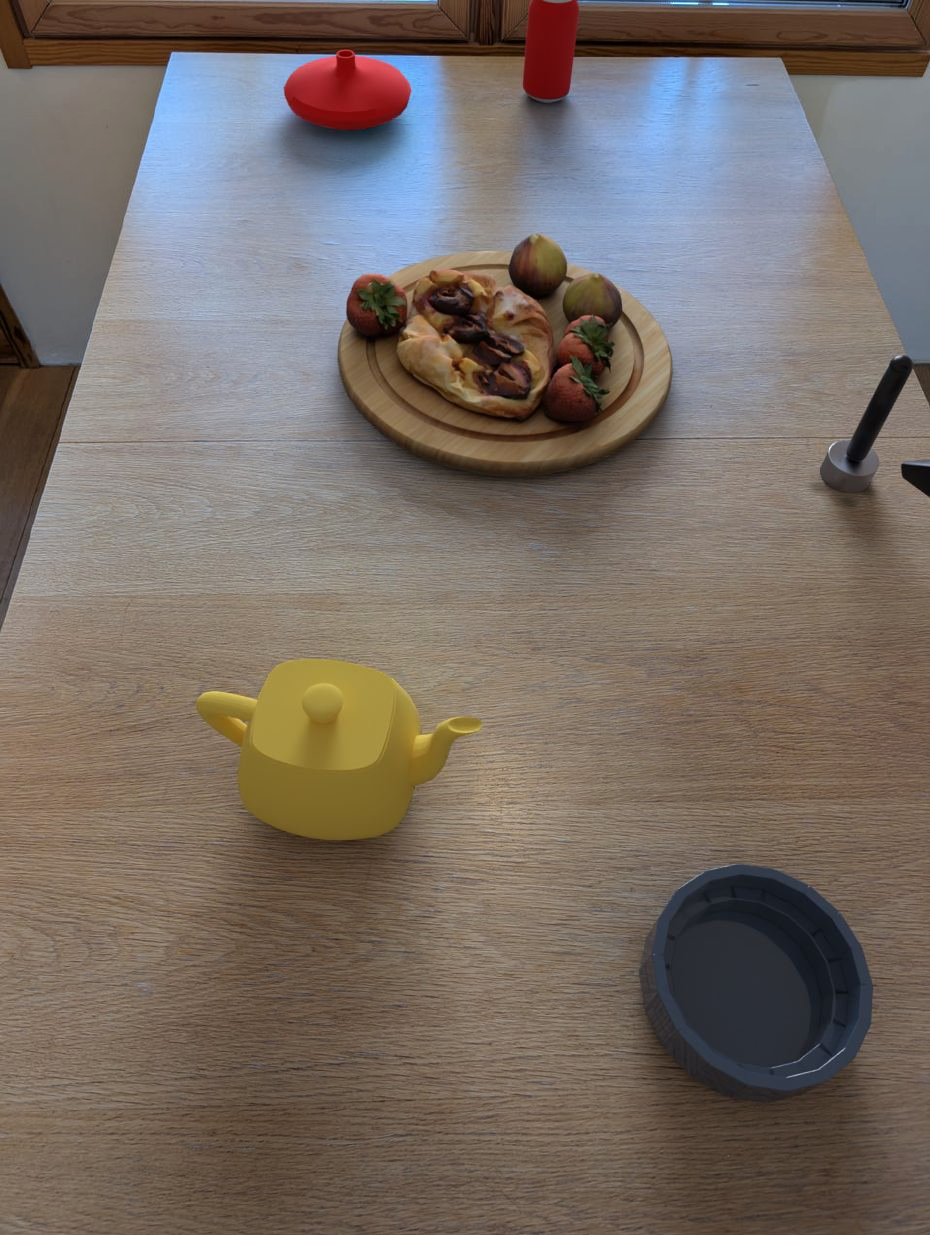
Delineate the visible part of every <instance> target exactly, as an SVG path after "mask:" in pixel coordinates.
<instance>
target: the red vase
mask: <svg viewBox="0 0 930 1235" xmlns="http://www.w3.org/2000/svg"><path fill="white" fill-rule="evenodd" d="M411 95H412V88H411V84H410V82H409V81H408V79H407V77H406V76H405V75H404V74H403V73H402V72H401V71H400V69H398V68H396V67H395V66H393V65H392V64H391V63H388V62H386V61H382V60H380V59H378V58H377V59H376V58H371V57H368V56H361V55H356V54H355V52H354V51H353V50H351V49H340V50H338V51H337V52H336V54H335V55H334V56H326V57H321V58H318V59H315V60H312V61H311V60H310V61H308V62H306V63H305V64H303V65H300V66H299V67H297V68H296V69H295V70H294V71H293V72H292V73H291V74H290V75H289V77H288V78H287V80H286V82H285V84H284V86H283V96H284V98H285V100H286V103H287V105H288V106H289V109H291V111H292V112H293V113H294V114H295V115H296V116H297V117H299V118H300V119H301V120H304V121H305V122H308V123H311V124H313V125H316V126H319V127H323V128H328V129H332V130H337V131H361V130H366V129H371V128H374V127H377V126H380V125H383V124H386V123H390V122H391V121H393V120H394V119H396V118H398V117H399V116H401V115H402V114H403V112H404V111H405V110H406V109H407V107H408V104H409V102H410V97H411Z"/></svg>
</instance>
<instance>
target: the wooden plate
mask: <svg viewBox="0 0 930 1235" xmlns="http://www.w3.org/2000/svg"><path fill="white" fill-rule="evenodd" d="M345 305H346V307H345V314H346V319H345V321H344V322H343V325H342V328H341V330H340V334H339V338H338V343H337V365H338V371H339V376H340V379H341V383H342V385H343V388H344V391H345V393H346V395H347V397H348V399H349V400H350V402H351V403H352V405H353V406H354V408H355V409H356V411H357V412H358V413H359V414H360V415H361V416H362V417H363V419H364V420H365V421H367V423H369V424H370V425H371V426H372V428H374V429H375V430H376V431H377V432H378V433H379V434H380V435H382V436H384V437H385V438H386V439H388V440H389V441H391V442H392V443H394V444H395V445H396V446H398V447H400V448H402V449H403V450H405V451H407V452H408V453H410V454H413V455H416V456H418V457H420V458H422V459H424V460H427V461H430V462H432V463H436V464H438V465H440V466H445V467H447V468H452V469H456V470H461V471H466V472H469V473H475V474H476V473H477V474H483V475H487V476H501V477H503V476H504V477H505V476H506V477H526V476H528V477H529V476H542V475H550V474H555V473H562V472H566V471H567V472H568V471H571V470H575V469H579V468H582V467H585V466H589V465H590V464H593V463H596V462H598V461H601V460H603V459H605V458H607V457H609V456H612V455H613V454H615V453H617V452H618V451H620V450H622V449H624V448H625V447H627V446H629V445H630V444H631V443H632V442H634V441H635V440H637V438H640V437H641V435H643V433H644V432H646V431H647V430H648V429H649V427H650V426H651V425H652V424H653V422H654V421H655V420H656V419H657V417H658V416H659V414H660V413H661V411H662V409H663V408H664V406H665V403H666V402H667V400H668V397H669V394H670V390H671V388H672V387H671V386H672V380H673V370H674V369H673V356H672V353H671V348H670V345H669V341H668V339H667V337H666V335H665V332H664V331H663V328H662V327H661V325H660V324H659V322H658V321H657V319H656V318H655V317H654V315H653V314H652V313H651V312H650V311H649V309H647V307H645V305H644V304H642V303H641V302H640V301H639V300H638V299H637V298H636V297H635V296H633V295H632V294H631V293H629V292H628V291H627V290H626V289H624V288H622V286H619V285H618V284H617V283H615V282H613V281H612V280H610V279H609V278H608V277H606V275H604V274H601V273H599V272H598V273H597V272H593V271H592V270H590V269H587V268H584V267H581V266H579V265H576V264H573V263H570V262H568V261H567V257H566V256H565V253H564V251H563V249H562V248H561V246H560V245H559V244H558V243H557V242H556V241H555V240H553V239H552V238H550V237H548V236H546V235H543V234H541V233H533V234H530V235H528V236H526V238H524V239H523V240H521V241H520V242H519V243H518V244H517V245H516V246H515V247H514V249H513V251H506V250H480V251H479V250H478V251H467V252H458V253H451V254H446V255H441V256H437V257H433V258H429V259H426V260H422V261H419V262H416V263H413V264H411V265H408V266H406V267H404V268H401V269H400V270H397V271H395V272H394V273H392V274H390V275H388V276H384V275H383V274H380V273H365V274H362V275H361V276H359V277H358V278H357V279H355V281H354V282H353V284H352V286H351V289H350V292H349V294H348V296H347V298H346V303H345Z"/></svg>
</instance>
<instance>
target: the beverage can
mask: <svg viewBox="0 0 930 1235" xmlns="http://www.w3.org/2000/svg"><path fill="white" fill-rule="evenodd" d="M527 13H528V14H527V24H526V35H525V36H526V37H525V50H524V61H523V74H522V88H523V91H524V92H525V94H526V95H527V96H529V97H530V98H531V99H533V100H535V101H537V102H540V103H544V104H548V103H549V104H552V103H556V102H558V101H560V100H563V99H565V98H566V97H567V96H568V95H569V93H570V90H571V84H572V75H573V66H574V59H575V52H576V51H575V50H576V41H577V34H578V26H579V16H580V4H579V1H578V0H530V2H529V3H528V12H527Z"/></svg>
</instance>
